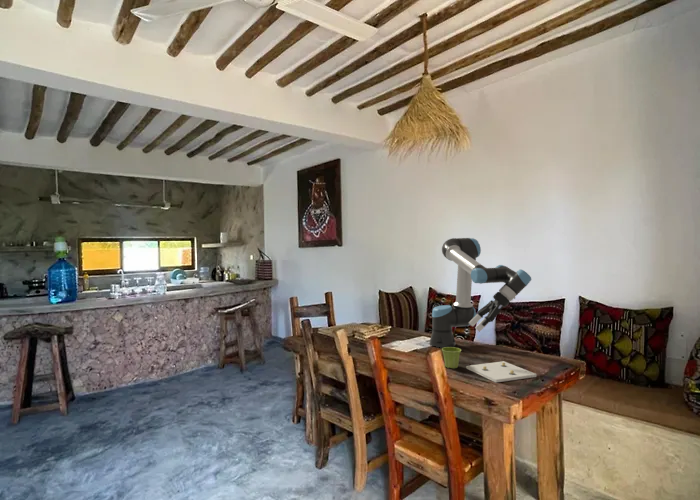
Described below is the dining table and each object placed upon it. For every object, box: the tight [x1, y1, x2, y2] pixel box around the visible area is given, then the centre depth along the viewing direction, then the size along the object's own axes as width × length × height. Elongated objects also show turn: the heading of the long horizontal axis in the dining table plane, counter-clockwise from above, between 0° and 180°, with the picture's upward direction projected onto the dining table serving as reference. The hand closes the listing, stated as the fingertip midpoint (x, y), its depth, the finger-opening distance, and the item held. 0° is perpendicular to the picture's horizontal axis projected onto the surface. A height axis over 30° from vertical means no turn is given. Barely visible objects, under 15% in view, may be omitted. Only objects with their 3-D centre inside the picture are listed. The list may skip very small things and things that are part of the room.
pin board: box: [465, 360, 538, 383], centre depth 190 cm, size 22×22×3 cm
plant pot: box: [441, 346, 462, 369], centre depth 200 cm, size 9×9×9 cm
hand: (473, 327), depth 198 cm, fingers open, 13 cm apart
